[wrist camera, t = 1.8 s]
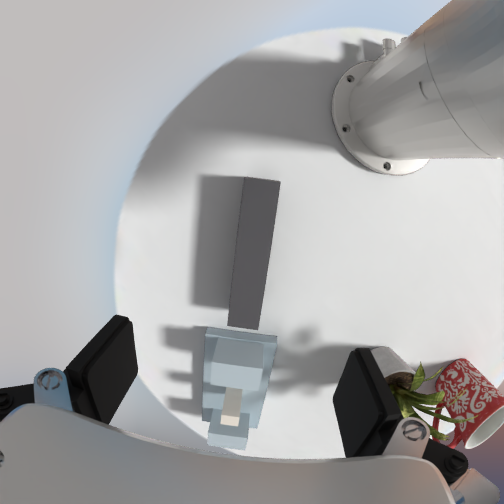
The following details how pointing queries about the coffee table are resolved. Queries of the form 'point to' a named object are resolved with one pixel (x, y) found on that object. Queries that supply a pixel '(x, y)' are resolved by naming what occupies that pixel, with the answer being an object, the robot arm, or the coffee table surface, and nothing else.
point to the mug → (469, 403)
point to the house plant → (411, 388)
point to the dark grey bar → (252, 251)
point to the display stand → (235, 384)
